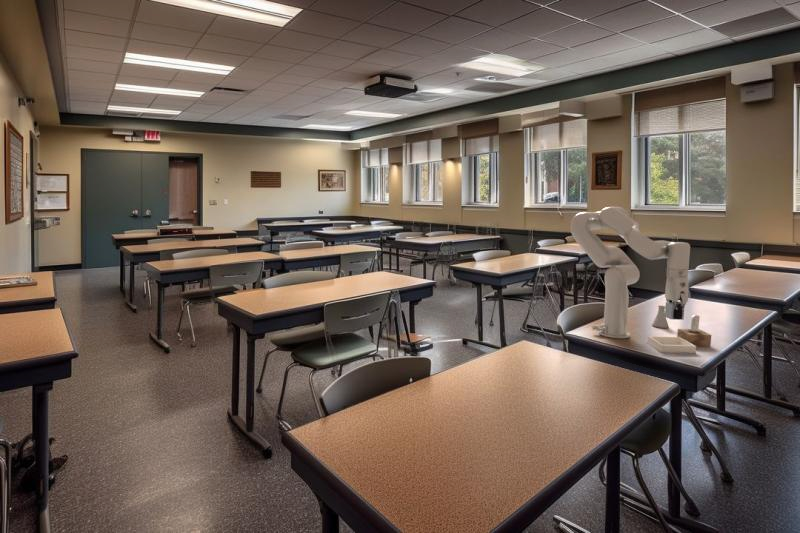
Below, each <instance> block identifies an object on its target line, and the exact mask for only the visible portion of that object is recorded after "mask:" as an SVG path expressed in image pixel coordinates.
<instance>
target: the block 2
mask: <svg viewBox="0 0 800 533" xmlns="http://www.w3.org/2000/svg"><path fill="white" fill-rule="evenodd" d="M690 330H691V328H677V333H676V334H677V335H676V337H680V338H682V339H684V340H686V341H688V342H689V343H691V344H693V345H695V346H696V348H697V347H700V348H702V347H703V348H706V347H707V348H711V343H712V334H710V333H708V332H706V331H705V330H701V329H699V328H698V333H690Z"/></svg>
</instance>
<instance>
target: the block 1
mask: <svg viewBox="0 0 800 533" xmlns="http://www.w3.org/2000/svg"><path fill="white" fill-rule="evenodd" d="M678 304H680V303H677V305H678ZM685 305H686V304H685ZM685 305H684V307H683V313H682V319H673V313H674V309H675V302H673V301H672V302H667V301H666V302H665V317H666V319H669V320H673V321H674V320H676V321H677V320H678V321H679V320H683V321H684V319H685V307H686V306H685Z"/></svg>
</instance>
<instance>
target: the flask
mask: <svg viewBox="0 0 800 533" xmlns="http://www.w3.org/2000/svg"><path fill="white" fill-rule="evenodd" d="M657 307H658V310H657V314H656V316H655V318H654V319H653V322H652V324H651V326H652V327H655V328H661V329H667V328H670V327H669V323H668V321H667V320H668V319H667V317H665V307H666V305H658V306H657Z"/></svg>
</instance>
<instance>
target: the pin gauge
mask: <svg viewBox="0 0 800 533" xmlns="http://www.w3.org/2000/svg"><path fill="white" fill-rule="evenodd" d="M700 317H701V316H700V315H696V314H692V315H691V321H690V329H691V330H690V333H698V329H699V328H700V327H699V325H700Z"/></svg>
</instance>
